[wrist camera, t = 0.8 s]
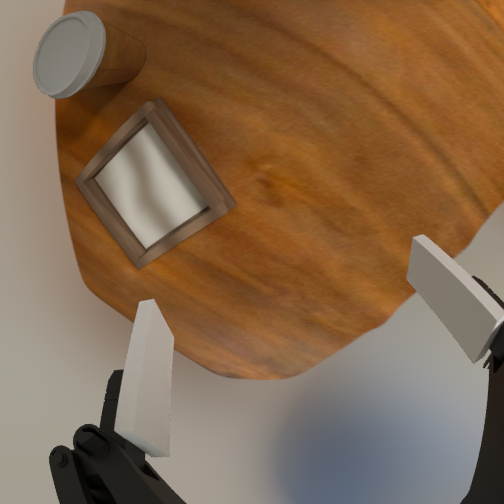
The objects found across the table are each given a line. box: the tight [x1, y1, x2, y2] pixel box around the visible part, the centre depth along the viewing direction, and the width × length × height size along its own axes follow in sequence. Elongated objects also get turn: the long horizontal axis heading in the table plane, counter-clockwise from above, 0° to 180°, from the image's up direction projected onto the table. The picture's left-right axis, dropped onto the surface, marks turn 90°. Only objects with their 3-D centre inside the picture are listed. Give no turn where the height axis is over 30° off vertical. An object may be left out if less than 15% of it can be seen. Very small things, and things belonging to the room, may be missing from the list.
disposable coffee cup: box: [33, 11, 146, 99], centre depth 21 cm, size 10×10×12 cm
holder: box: [75, 98, 237, 269], centre depth 32 cm, size 16×16×4 cm
